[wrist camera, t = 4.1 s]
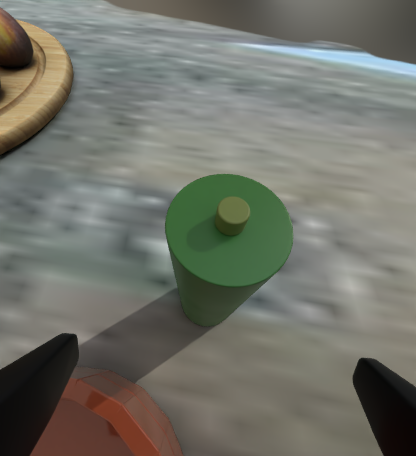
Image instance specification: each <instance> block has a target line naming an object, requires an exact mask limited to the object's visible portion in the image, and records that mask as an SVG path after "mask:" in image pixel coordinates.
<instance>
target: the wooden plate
mask: <svg viewBox="0 0 416 456" xmlns="http://www.w3.org/2000/svg"><path fill="white" fill-rule="evenodd" d="M72 82H73V67H72V63H71V59H70V57H69V55H68V53H67V52H66V50H65V49H64V47H63V46H62V45H61V44H60V42H59V41H58V40H57V39H56V38H54V37H53V36H52V35H50V34H49V33H47V32H45V31H44V30H42V29H40V28H38V27H36V26H34V25H31V24H29V23H26V22H23V21H19V20H15V19H14V18H13V17H12V16H11V15H10V14H9V13H7V12H6V11H5V10H3V9H2V8H0V155H1V154H3V153H4V152H6V151H8V150H10V149H12V148H13V147H15V146H17V145H19V144H21V143H22V142H24V141H25V140H27V139H28V138H30V137H31V136H32V135H34V134H35V133H36V132H38V131H39V130H40V129H41V128H43V127H44V126H45V125H46V124H47V123H48V122H49V121H50V120H51V119H52V118H53V117H54V116H55V115H56V114H57V113H58V111H59V110H60V109H61V107H62V106H63V104H64V103H65V101H66V100H67V98H68V96H69V93H70V90H71V86H72Z"/></svg>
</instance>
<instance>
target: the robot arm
mask: <svg viewBox="0 0 416 456" xmlns="http://www.w3.org/2000/svg"><path fill="white" fill-rule="evenodd" d="M78 358H79V350H78V339H77V336H76V335H75V334H69V333H62V334H60V335H58V336H56V337H55V338H53V339H51V340H50V341H48V342H46V343H45V344H43V345H41V346H40V347H38V348H36V349H34V350H33V351H31V352H29V353H28V354H26V355H24V356H23V357H21V358H19V359H18V360H16V361H14V362H13V363H11V364H9V365H8V366H6V367H4V368H2V369H1V370H0V456H30V454H31V453H32V451H33V449H34V447H35V446H36V444H37V442H38V440H39V439H40V437H41V435H42V433H43V432H44V430H45V428H46V426H47V425H48V423H49V421H50V419H51V417H52V415H53V413H54V411H55V409H56V407H57V405H58V402H59V400H60V398H61V396H62V394H63V392H64V390H65V387H66V385H67V383H68V381H69V379H70V377H71V375H72V373H73V370H74V368H75V366H76V364H77V361H78ZM353 385H354V388H355V390H356V392H357V395H358V397H359V400H360V402H361V404H362V407H363V409H364V412H365V414H366V417H367V419H368V421H369V424H370V426H371V429H372V431H373V433H374V436H375V438H376V440H377V443H378V445H379V447H380V449H381V451H382V453H383V455H384V456H416V387H415V386H413V385H412V384H411V383H409V382H408V381H406V380H405V379H403V378H402V377H400V376H399V375H397V374H396V373H395V372H393V371H392V370H390V369H389V368H387V367H386V366H384V365H383V364H382V363H380V362H379V361H377V360H375V359H372V358H360V359H359V361H358V363H357V366H356V369H355V371H354V374H353Z"/></svg>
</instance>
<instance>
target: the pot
mask: <svg viewBox="0 0 416 456" xmlns="http://www.w3.org/2000/svg"><path fill="white" fill-rule="evenodd" d="M30 456H184V455H183V453H182V450H181V448H180V445H179V443H178V440H177V438H176V435H175V433H174V430H173V428H172V425H171V423H170V421H169V419H168V418H167V416H166V415H165V414H164V413H163V411H162V410H161V409H160V408H159V407H158V405H157V404H156V403H155V402H154V401H153V399H152V398H151V397H150V396H149V395H148V393H147V392H146V391H145V390H144V389H143V388H142V387H140V386H138V385H136V384H135V383H133V382H131V381H129V380H127V379H126V378H124V377H122V376H120V375H118V374H117V373H115V372H113V371H111V370H104V369H95V368H86V367H78V366H75V368H74V370H73V373H72V375H71V377H70V379H69V381H68V383H67V385H66V387H65V390H64V392H63V394H62V396H61V398H60V400H59V402H58V405H57V407H56V409H55V411H54V413H53V415H52V417H51V419H50V421H49V423H48V425H47V426H46V428H45V430H44V432H43V433H42V435H41V437H40V439H39V440H38V442H37V444H36V446H35V447H34V449H33V451H32V453H31V454H30Z"/></svg>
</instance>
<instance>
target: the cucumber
mask: <svg viewBox="0 0 416 456" xmlns="http://www.w3.org/2000/svg"><path fill="white" fill-rule="evenodd" d="M165 233H166V238H167V243H168V247H169V251H170V256H171V260H172V264H173V269H174V273H175V277H176V282H177V286H178V290H179V295H180V299H181V304H182V307H183V310H184V312H185V314H186V315H187V317H188V318H189V319H190V320H191V321H193V322H194V323H196V324H198V325H201V326H214V325H217V324H219V323H221V322H222V321H224V320H225V319H226V318H227V317H228V316H229V315H230V314H231V313H233V312H234V311H235V310H236V309H237V308H238V307H239V306H240V305H241V304H242V303H244V302H245V301H246V300H247V299H248V298H249V297H250V296H251V295H252V294H253V293H255V292H256V291H257V290H258V289H259V288H260V287H261V286H262V285H263V284H264V283H266V282H267V281H268V280H269V279H270V278H271V277H272V276H273V275H274V274H275V273H277V272H278V271H279V269H280V268H281V267H282V266H283V265H284V263H285V262H286V260H287V259H288V256H289V254H290V252H291V248H292V244H293V227H292V222H291V219H290V216H289V213H288V211H287V209H286V208H285V206H284V205H283V203H282V202H281V200H280V199H279V198H278V197H277V196H276V195H275V194H274V193H273V192H272V191H271V190H269V189H268V188H267V187H265V186H264V185H262V184H260V183H259V182H257V181H254V180H252V179H249V178H247V177H243V176H239V175H233V174H216V175H210V176H206V177H203V178H200V179H197V180H195V181H193V182H192V183H190V184H188V185H187V186H186V187H184V188H183V189H182V190H181V191H180V192H179V193H178V194H177V195H176V197H175V198H174V199H173V201H172V203H171V204H170V207H169V209H168V212H167V215H166V221H165Z"/></svg>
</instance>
